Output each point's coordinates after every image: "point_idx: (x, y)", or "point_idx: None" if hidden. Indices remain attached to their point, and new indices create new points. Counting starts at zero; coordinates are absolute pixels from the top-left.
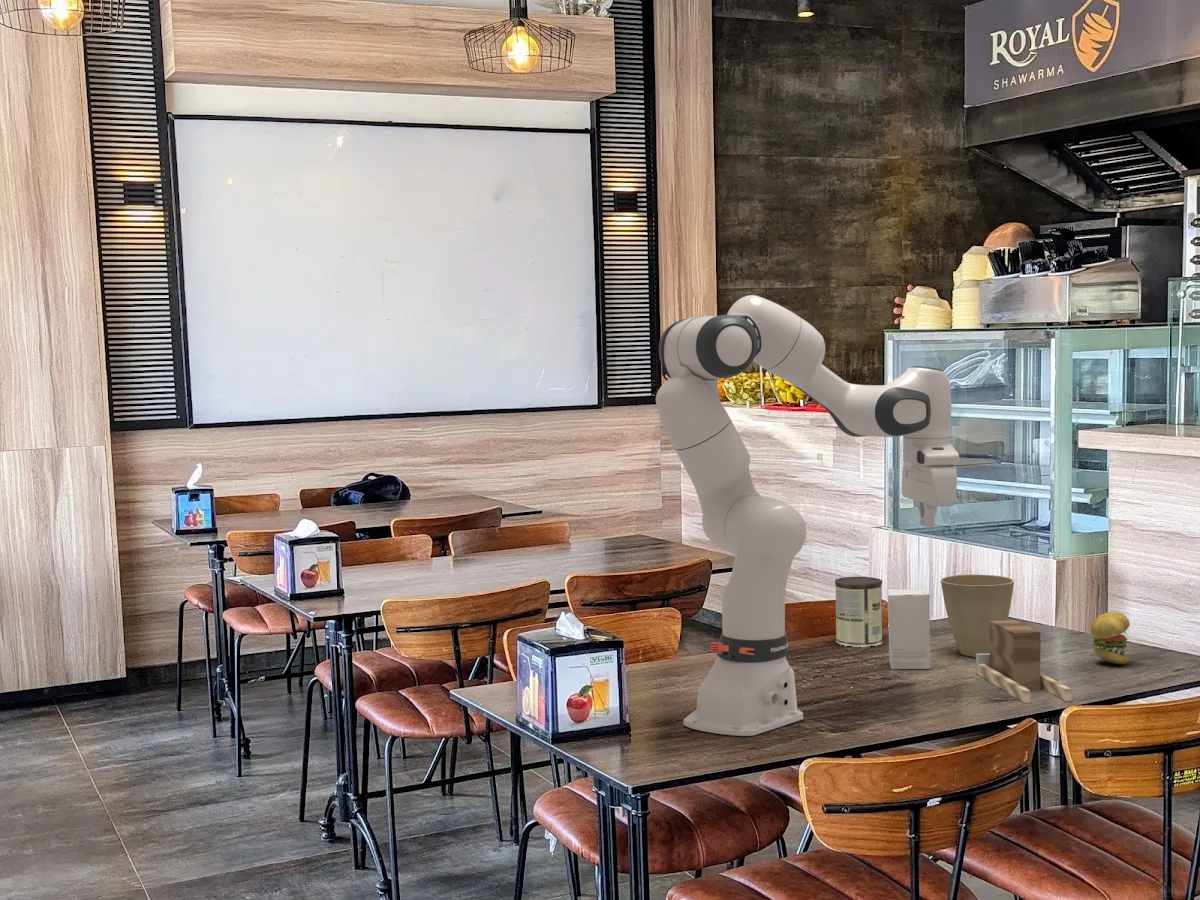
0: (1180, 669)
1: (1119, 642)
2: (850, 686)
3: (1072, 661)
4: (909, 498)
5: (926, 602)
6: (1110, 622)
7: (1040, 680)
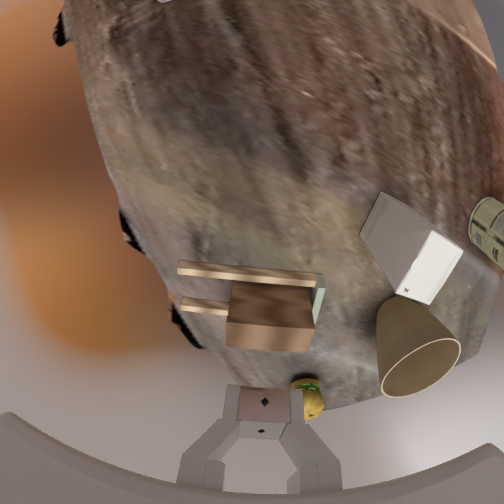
0: None
1: None
2: (310, 94)
3: (326, 363)
4: (426, 470)
5: (392, 280)
6: None
7: None
